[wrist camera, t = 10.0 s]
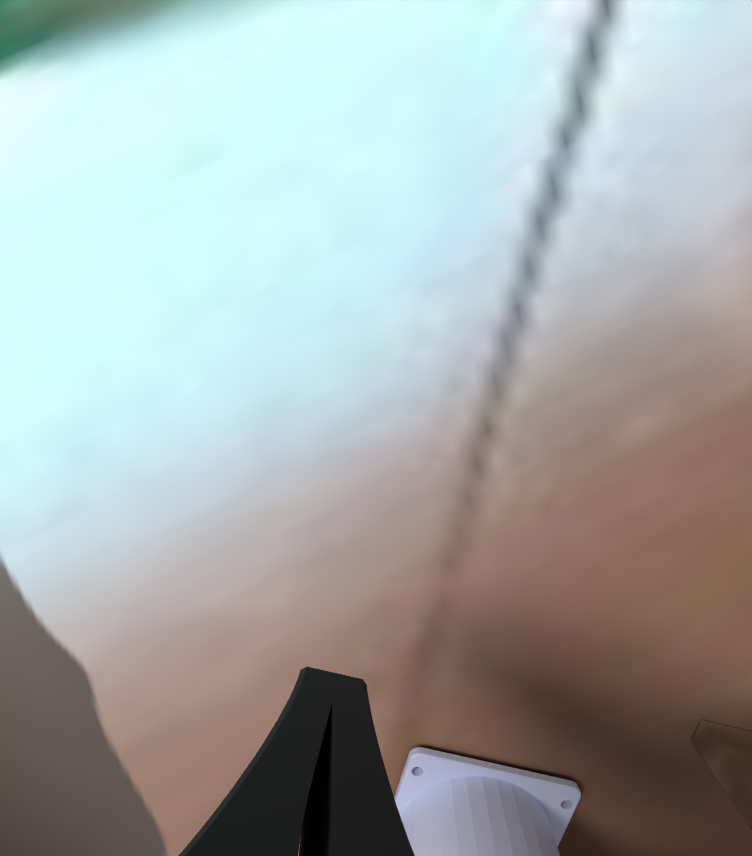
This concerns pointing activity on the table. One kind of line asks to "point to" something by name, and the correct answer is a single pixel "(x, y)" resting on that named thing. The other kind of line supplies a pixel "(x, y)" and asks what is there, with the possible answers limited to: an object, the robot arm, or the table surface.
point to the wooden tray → (728, 761)
